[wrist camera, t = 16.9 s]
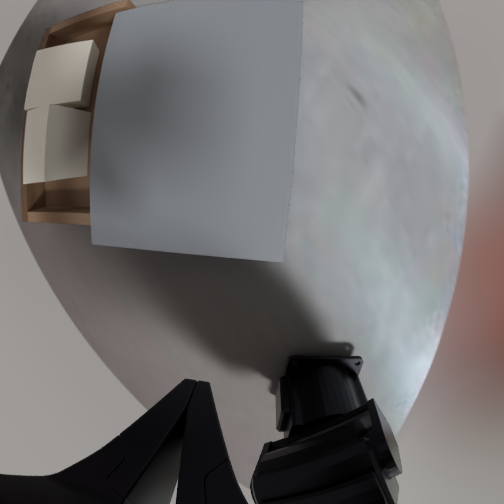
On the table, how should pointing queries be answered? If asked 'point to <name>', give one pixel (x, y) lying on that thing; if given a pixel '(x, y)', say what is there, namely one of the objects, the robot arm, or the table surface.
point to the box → (70, 31)
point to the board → (197, 128)
